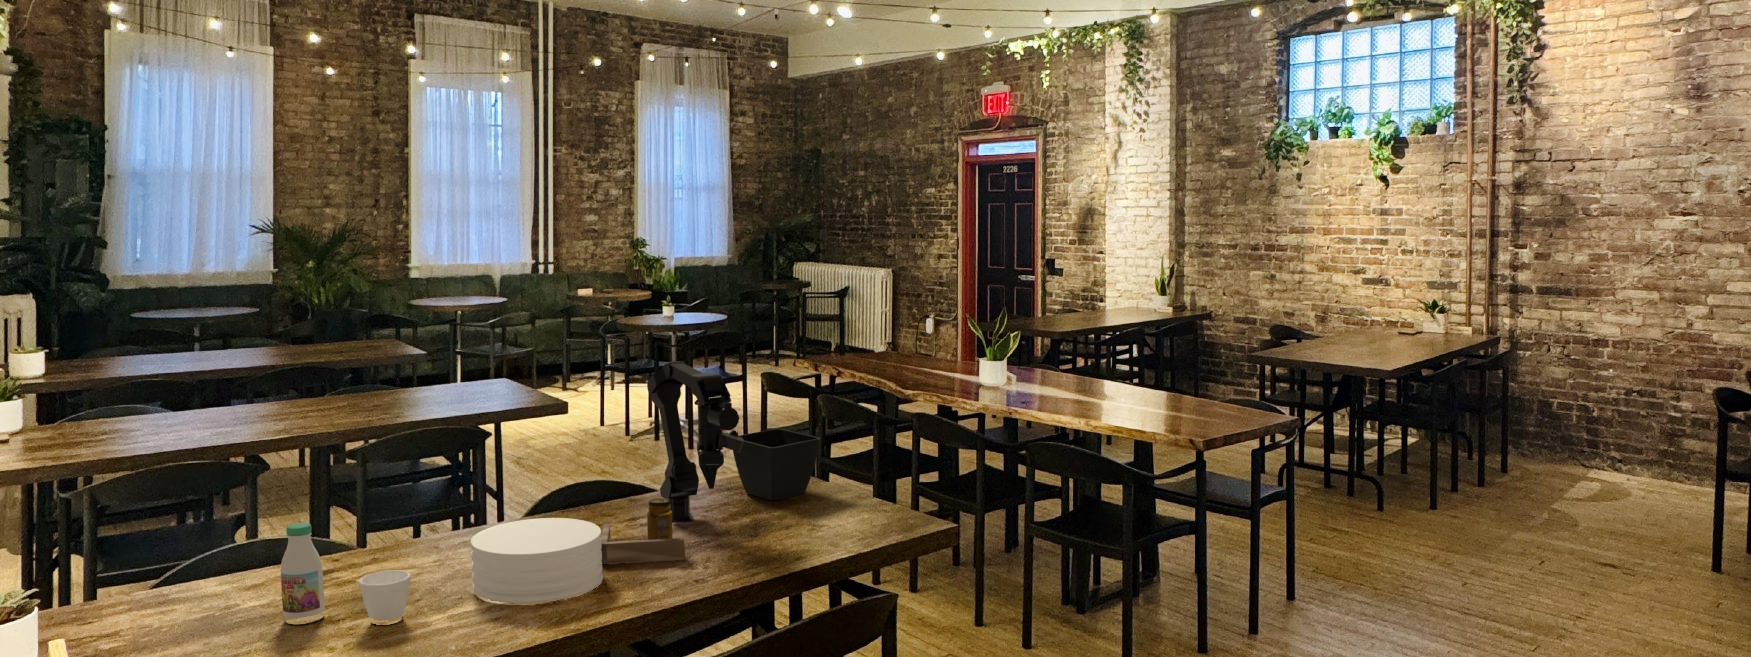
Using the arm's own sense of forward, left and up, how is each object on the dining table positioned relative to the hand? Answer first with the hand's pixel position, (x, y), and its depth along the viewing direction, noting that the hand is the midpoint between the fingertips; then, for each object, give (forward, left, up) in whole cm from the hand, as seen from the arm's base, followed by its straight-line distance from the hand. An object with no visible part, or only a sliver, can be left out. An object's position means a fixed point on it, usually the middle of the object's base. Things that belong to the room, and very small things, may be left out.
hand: (710, 484), depth 302 cm
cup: (+50, -68, -13) cm, 85 cm away
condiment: (+12, -13, -13) cm, 22 cm away
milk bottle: (+46, -85, -13) cm, 98 cm away
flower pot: (-37, +20, -13) cm, 44 cm away
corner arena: (+12, -17, -13) cm, 25 cm away
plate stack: (+32, -40, -13) cm, 53 cm away
